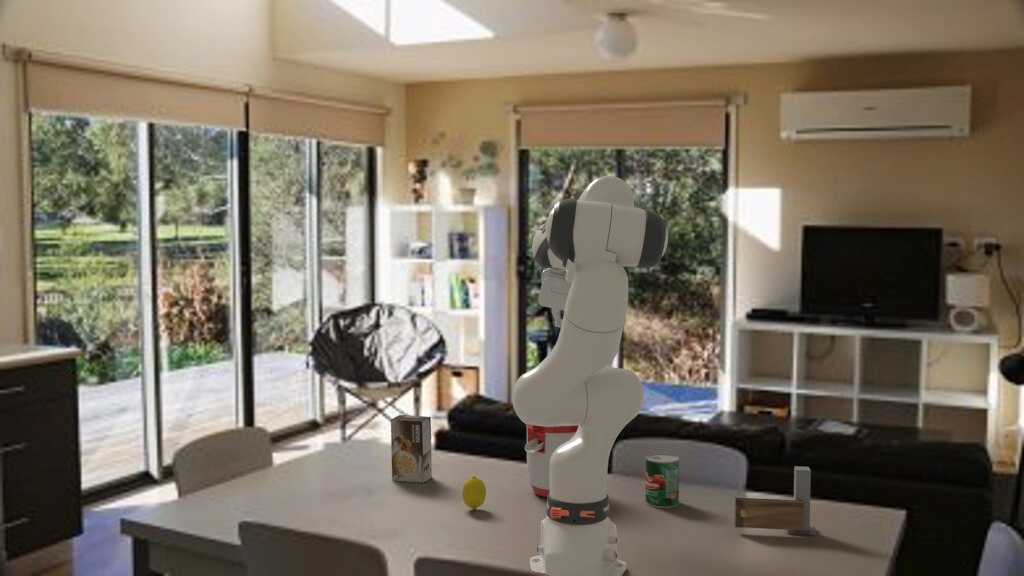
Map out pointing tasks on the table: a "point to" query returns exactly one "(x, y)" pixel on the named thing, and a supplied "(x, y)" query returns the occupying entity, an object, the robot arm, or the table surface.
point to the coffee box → (411, 448)
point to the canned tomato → (662, 480)
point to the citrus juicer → (544, 453)
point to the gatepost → (803, 498)
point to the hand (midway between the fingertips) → (577, 330)
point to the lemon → (473, 492)
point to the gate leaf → (769, 513)
